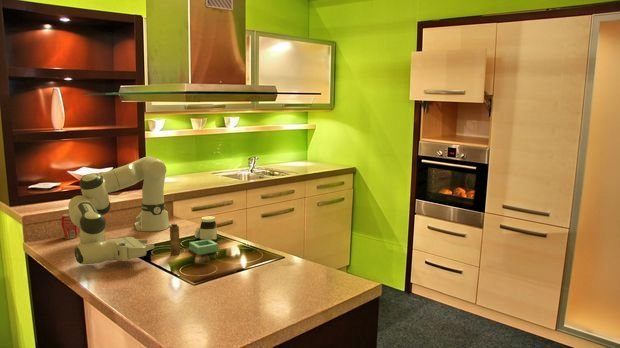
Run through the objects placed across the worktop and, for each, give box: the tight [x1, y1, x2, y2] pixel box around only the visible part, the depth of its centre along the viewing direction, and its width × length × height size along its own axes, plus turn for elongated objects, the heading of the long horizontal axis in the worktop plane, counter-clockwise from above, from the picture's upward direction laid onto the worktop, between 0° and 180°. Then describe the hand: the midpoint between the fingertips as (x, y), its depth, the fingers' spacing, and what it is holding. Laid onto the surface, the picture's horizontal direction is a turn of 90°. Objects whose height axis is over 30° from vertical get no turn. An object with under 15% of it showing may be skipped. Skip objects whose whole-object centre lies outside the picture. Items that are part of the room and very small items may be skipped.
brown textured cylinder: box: [169, 223, 181, 257], centre depth 223 cm, size 4×4×14 cm
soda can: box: [60, 212, 79, 240], centre depth 248 cm, size 7×7×12 cm
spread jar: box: [194, 215, 218, 242], centre depth 246 cm, size 12×11×12 cm
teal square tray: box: [188, 239, 219, 256], centre depth 230 cm, size 10×10×4 cm
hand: (150, 243), depth 216 cm, fingers open, 8 cm apart
